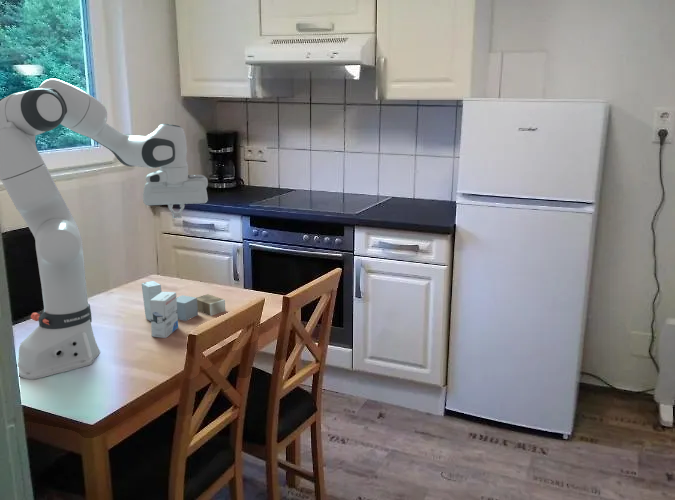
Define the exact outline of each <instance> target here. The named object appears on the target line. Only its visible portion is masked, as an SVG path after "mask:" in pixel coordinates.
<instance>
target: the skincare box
mask: <svg viewBox="0 0 675 500" xmlns="http://www.w3.org/2000/svg"><path fill="white" fill-rule="evenodd" d="M141 291H142V299H143V307H144V314H145V315H144V316H145V319H146V320H148V321H149V322H151V312H150V300H151V299H152V298H154V297H155V296H157V295H158V294H160V293H161V292H163V290H162V285H161V284H160V283H158V282H156V281H155V280H151V281H145V282H142V283H141Z"/></svg>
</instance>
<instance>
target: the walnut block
mask: <svg viewBox="0 0 675 500" xmlns="http://www.w3.org/2000/svg"><path fill="white" fill-rule="evenodd" d="M196 298H197V308H198V313H203V314H205V315H207V316H215V315H217V314H219V313H224V312H226V301H225V299H224V298H221V297H218V296H215V295H212V294H209V293H207V294H203V295H200V296H196Z"/></svg>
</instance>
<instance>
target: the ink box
mask: <svg viewBox="0 0 675 500" xmlns="http://www.w3.org/2000/svg"><path fill="white" fill-rule="evenodd" d="M150 312H151V321H150V327H151V328H150V329H151V337H154V338H163V339H166V338H168V337H169V336H170V335H171V334H173V333H174V332H175V331H176V330H177V329H178V328H179V319H178V315H177V292H176V291H162V292H161V293H160V294H158V295H157V296H155V297H154V298H152V299H151V300H150Z"/></svg>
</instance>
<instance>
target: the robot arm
mask: <svg viewBox="0 0 675 500" xmlns="http://www.w3.org/2000/svg"><path fill="white" fill-rule="evenodd" d="M107 121H108V112H107V108H106V106H105V105H104V104H102V102H101V101H100V100H98V99H97V98H96V97H94V96H92V94H89V93H87V92H86V91H84V90H82V89H80V87H77V86H75V85H72V84H70V83H68V82H67V81H66V82H65V81H63V80H60V79H58V78H49V79H46V80H44V81H43V82H42V83H41V84H40V85H39V86H38V87H37V88H32V89H28V90H25V91H18V92H14V93H12V94H9V95H7V96H6V97H3V98H0V181H1V182H2V184H3V187H4V189H5V190H6V192H7V193H8V195H9V198H10V199H11V202H12V203H13V205H14V207H15V209H16V210H17V211H18V212H19V214H20V216H21V217H22V218H23V220H24V222H25V223H26V225H27V227H28V228H29V231H30V233H32V236H33V237H34V240H35V243H34V244H35V251H36V258H37V264H38V265H37V266H38V272H39V278H40V284H41V285H40V286H41V294H42V301H43V302H42V303H43V310H42V313H38V312H32V313H31V315H30V319H32V320H33V321H35V322H38V326H37V327H36V328H35V329H34V330H33V331H32V332H31V333H30V334H29V335H28V336H27V337H26V338H25V339H24V340H23V341H22V342H21V343H20V345H19V348H18V367H19V375H20V376H19V377H21V378H24V379H27V380H28V379H30V380H36V379H42V378H44V377H48V376H53V375H56V374H60V373H65V372H67V371H71V370H75V369H79V368H83V367H86V366H87V367H88V366H91V365H92V364H93V362H94V359H96V358H97V357H98V356H99V355H100V352H101V351H100V347H99V346H98V344H97V341H96V338H95V336H94V335H95V334H94V331H93V327H92V310H91V305H90V303H89V301H88V300H89V299H88V290H87V280H86V269H85V257H84V247H83V239H82V235H81V232H80V229H79V226H78V224H77V222H76V220H75V218H74V217H73V215H72V213H71V211H70V209H69V207H68V205H67V203H66V201H65V199H64V198H63V196H62V194H61V192H60V190H59V188H58V187H57V185H56V183H55V181H54V178H53V177H52V174H51V173H50V171H49V169H48V167H47V165H46V163H45V160H44V159H43V157H42V156H41V154H40V152H39V150H38V148H37V143H36V136H38V135H41V134H44V133H46V132H51V131H52V130H54V129H56V128H57V127H59V125H61V126H63V127H64V128H66V129H69V130H70V131H72V132H75V133H77V134H79V135H82V136H85V137H87V138H90V139H91V140H93V141H94V142H96V143H98V144H100V145H101V146H103V147H105V149H107V150H109V151H111V153H112V154H113V155H114V156H115V157H116V159H117V161H118V162H120V163H121V164H122V165H124V166H127V167H138V168H147V169H156V168H159V170H156V171H153V172H150V173H148V174H147V175H145V182H146V183H145V184H144V188H143V193H142V195H143V196H142V197H143V198H142V199H143V203H144V205H145V206H162V205H163V206H164V205H167V208H168V209H169V211H170V212H171V216H172V219H175V218H176V219H177V218H178V219H181V218H183V211H184V209H185V206H186V205H191V204H192V205H193V204H195V205H197V204H206V203H207V202H208V201H209V198H208V192H207V188H208V185H209V181H208V177H206V176H205V175H203V174H189V165H188V161H187V154H188V147H187V145H188V144H187V138H186V137H187V136H186V133H185V130H184V128H183V127H182V126H180V125H176V124H169V123H161V124H159V125H158V127H157V128H156V129H155V130H154V131H153V132H151V133H149V134H147V135H138V134H137V135H136V134H130V133H123V132H120V131H119V130H118V129H116V128H114V127H113V126H111V125H110V124H108V123H107ZM174 205H179V208H180V209H179V211H175V210H174V209H173V208H174Z"/></svg>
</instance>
